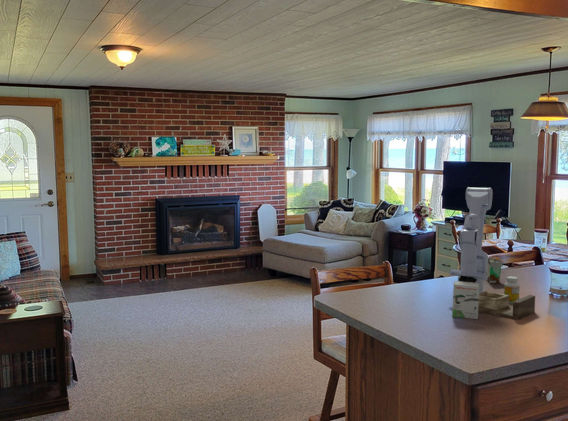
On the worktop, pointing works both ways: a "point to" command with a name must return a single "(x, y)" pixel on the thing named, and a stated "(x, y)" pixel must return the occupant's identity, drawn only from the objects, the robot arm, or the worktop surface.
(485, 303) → the beige square tray
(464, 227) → the robot arm
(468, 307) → the ink box
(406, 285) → the worktop surface
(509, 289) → the supplement bottle
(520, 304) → the base
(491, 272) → the food container
